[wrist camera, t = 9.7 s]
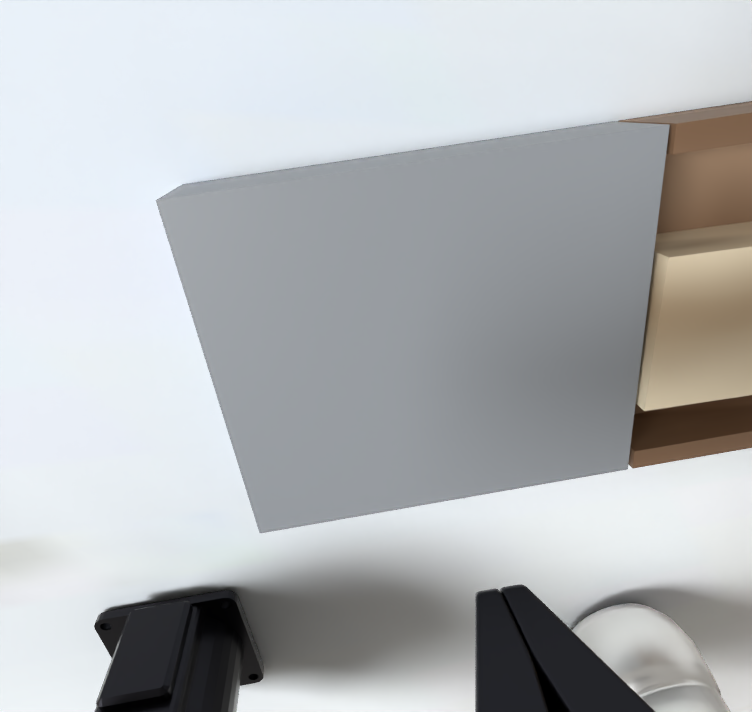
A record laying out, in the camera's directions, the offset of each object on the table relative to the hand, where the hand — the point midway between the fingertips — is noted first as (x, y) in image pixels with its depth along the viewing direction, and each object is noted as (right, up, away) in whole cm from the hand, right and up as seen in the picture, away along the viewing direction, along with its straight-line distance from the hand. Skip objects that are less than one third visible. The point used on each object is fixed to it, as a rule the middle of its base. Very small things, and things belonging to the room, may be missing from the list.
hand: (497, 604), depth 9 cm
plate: (0, +5, +10) cm, 12 cm away
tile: (+9, +6, +10) cm, 15 cm away
